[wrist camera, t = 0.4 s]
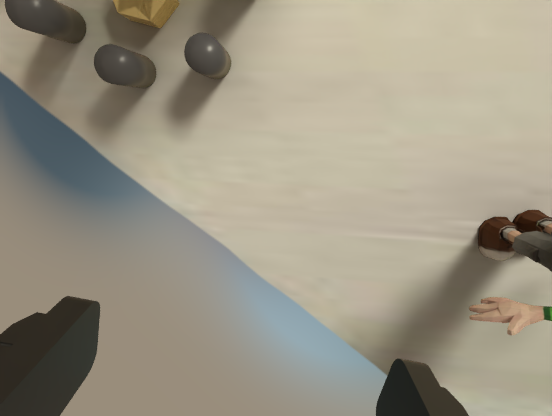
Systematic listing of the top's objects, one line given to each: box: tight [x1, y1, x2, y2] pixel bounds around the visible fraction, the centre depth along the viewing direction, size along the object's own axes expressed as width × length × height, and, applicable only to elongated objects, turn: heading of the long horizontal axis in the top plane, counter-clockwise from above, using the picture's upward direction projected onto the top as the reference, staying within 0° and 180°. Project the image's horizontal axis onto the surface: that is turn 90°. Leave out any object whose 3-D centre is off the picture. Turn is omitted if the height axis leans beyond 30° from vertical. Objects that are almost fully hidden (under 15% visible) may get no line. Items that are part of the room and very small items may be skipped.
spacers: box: [5, 0, 231, 88], centre depth 29 cm, size 14×19×6 cm
